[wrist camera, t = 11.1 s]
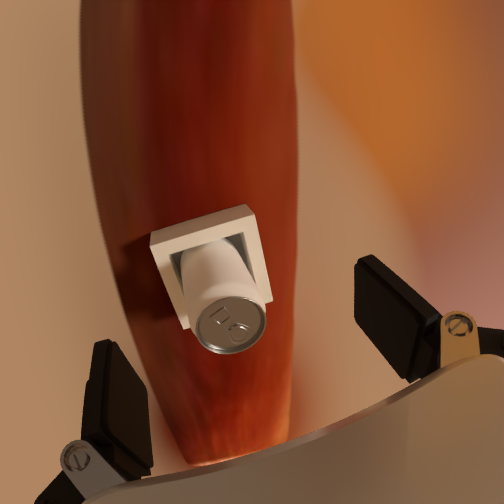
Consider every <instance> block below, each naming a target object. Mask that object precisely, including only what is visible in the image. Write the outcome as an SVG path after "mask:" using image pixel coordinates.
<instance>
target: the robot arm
mask: <svg viewBox="0 0 504 504" xmlns="http://www.w3.org/2000/svg"><path fill="white" fill-rule="evenodd" d="M354 281H355V282H354V288H355V289H354V317H355V320H356V323H357V324H358V325H359V326H360V328H361V329H362V330H363V331H364V333H365V334H366V335H367V336H368V338H369V339H370V340H371V341H372V342H373V344H374V345H375V346H376V348H377V349H378V350H379V351H380V353H381V354H382V355H383V356H384V357H385V359H386V360H387V361H388V363H389V364H390V365H391V366H392V368H393V369H394V370H395V371H396V372H397V374H398V375H399V376H400V378H402V379H404V378H405V379H406V380H407V381H408V382H409V383H412V382H414V381H415V380H417V379H419V378H420V379H421V380H419V381H417V382H415V383H414V384H412V385H410V386H408V387H406V388H405V389H403V390H401V391H399V392H397V393H395V394H393V395H392V396H390V397H388V398H386V399H384V400H382V401H380V402H379V403H376V404H374V405H372V406H370V407H368V408H366V409H364V410H362V411H360V412H358V413H356V414H353V415H351V416H349V417H347V418H345V419H343V420H340V421H338V422H336V423H333V424H331V425H329V426H326V427H324V428H322V429H319V430H317V431H314V432H312V433H309V434H307V435H304V436H301V437H299V438H296V439H293V440H291V441H288V442H285V443H282V444H279V445H277V446H274V447H271V448H268V449H265V450H261V451H258V452H255V453H252V454H249V455H245V456H242V457H238V458H235V459H231V460H228V461H224V462H220V463H216V464H212V465H208V466H204V467H200V468H195V469H191V470H186V471H182V472H177V473H173V474H167V475H162V476H156V477H150V478H145V479H141V477H142V476H149V475H151V471H150V468H152V467H153V455H152V445H151V435H150V423H149V411H148V396H147V395H148V394H147V389H146V387H145V385H144V383H143V382H142V380H141V379H140V378H139V376H138V375H137V373H136V372H135V370H134V369H133V367H132V366H131V364H130V363H129V361H128V360H127V358H126V357H125V355H124V354H123V352H122V351H121V349H120V347H119V346H118V344H117V343H116V342H115V341H114V342H112V341H111V340H110V339H106V340H102V341H99V342H96V343H95V344H94V348H93V355H92V362H91V369H90V376H89V380H88V381H87V383H86V389H85V396H84V406H83V416H82V428H81V440H75V441H72V442H70V443H69V444H67V445H66V446H65V448H64V449H63V451H62V453H61V457H60V463H61V467H62V469H63V470H62V471H61V473H60V474H59V475H58V476H57V477H56V478H55V479H54V480H53V481H52V482H51V483H50V484H49V486H48V487H47V488H46V489H45V490H44V491H43V492H42V493H41V494H40V495H39V496H38V497H37V499H36V500H35V502H34V504H504V330H501V329H491V328H483V327H477V325H476V322H475V320H474V319H473V317H471V316H470V315H469V314H467V313H464V312H460V311H452V312H449V313H447V314H445V315H444V316H442V315H441V314H440V313H439V312H438V311H437V310H436V309H435V308H434V307H433V306H432V305H430V304H429V303H428V302H427V301H426V300H425V299H424V298H423V297H421V296H420V295H419V294H418V293H417V292H416V291H415V290H414V289H413V288H411V287H410V286H409V285H408V284H407V283H406V282H405V281H403V280H402V279H401V278H400V277H399V276H398V275H396V274H395V273H394V272H393V271H392V270H391V269H389V268H388V267H387V266H385V264H383V263H382V262H381V261H380V260H379V259H377V258H376V257H375V256H374V255H371V254H370V255H368V256H365V257H362V258H360V259H358V261H357V264H355V266H354Z"/></svg>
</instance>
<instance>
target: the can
mask: <svg viewBox="0 0 504 504" xmlns="http://www.w3.org/2000/svg"><path fill="white" fill-rule="evenodd" d="M180 267H181V276H182V283H183V291H184V297H185V304H186V310H187V316H188V321H189V325H190V327H191V330H192V331H193V333H194V334H195V335H196V337H197V339H198V341H199V342H200V343H201V345H202V346H203V347H205V348H206V349H208V350H209V351H212V352H214V353H218V354H234V353H238V352H241V351H244V350H246V349H248V348H250V347H251V346H253V345H254V344H255V343H256V342H257V341H258V340H259V339H260V338H261V336H262V335H263V333H264V331H265V328H266V315H265V303H264V300H263V298H262V296H261V293H260V292H259V290H258V288H257V286H256V284H255V282H254V280H253V278H252V277H251V275H250V273H249V271H248V269H247V267H246V266H245V264H244V262H243V260H242V258H241V257H240V255H239V253H238V251H237V249H236V248H235V246H234V245H233V244H232V243H231V242H230V241H229V240H227V239H226V238H221V239H218V240H215V241H211V242H208V243H205V244H202V245H198V246H195V247H192V248H189V249H185V250H184V251H183V253H182V256H181V261H180Z"/></svg>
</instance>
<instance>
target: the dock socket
mask: <svg viewBox="0 0 504 504" xmlns="http://www.w3.org/2000/svg"><path fill="white" fill-rule="evenodd" d="M221 238H226V239H227V240H229V241H230V242H231V243H232V244H233V245H234V246H235V248H236V249H237V251H238V253H239V255H240V257H241V258H242V260H243V262H244V264H245V266H246V267H247V269H248V271H249V273H250V275H251V277H252V278H253V280H254V282H255V284H256V286H257V288H258V290H259V292H260V293H261V296H262V298H263V300H264V303H268V302H271V301H273V298H272V293H271V288H270V284H269V279H268V274H267V270H266V265H265V260H264V256H263V251H262V246H261V242H260V237H259V233H258V228H257V223H256V219H255V214H254V213H253V212H252V211H251V210H250V209H249V208H248V206H247V205H246V204H242V205H239V206H235V207H232V208H228V209H225V210H222V211H218V212H215V213H211V214H208V215H205V216H201V217H198V218H195V219H192V220H188V221H185V222H182V223H179V224H176V225H172V226H169V227H166V228H163V229H160V230H157V231H154V232H151V238H150V249H151V251H152V254H153V256H154V259H155V262H156V264H157V267H158V269H159V272H160V274H161V277H162V279H163V282H164V284H165V287H166V289H167V292H168V294H169V297H170V299H171V301H172V304H173V306H174V308H175V311H176V313H177V315H178V318H179V320H180V322H181V325H182V327H183V329H187V328H190V325H189V321H188V316H187V310H186V304H185V297H184V291H183V283H182V276H181V267H180V261H181V256H182V253H183V251H184V250H185V249H189V248H192V247H195V246H198V245H202V244H205V243H208V242H211V241H215V240H218V239H221Z"/></svg>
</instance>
